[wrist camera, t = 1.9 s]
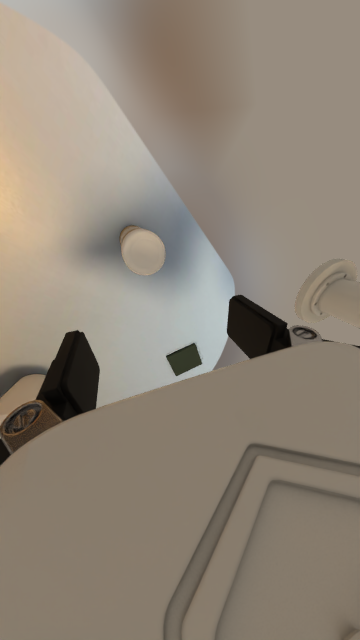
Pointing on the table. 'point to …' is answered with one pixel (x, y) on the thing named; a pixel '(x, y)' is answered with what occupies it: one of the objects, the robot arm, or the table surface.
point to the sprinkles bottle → (142, 250)
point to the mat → (184, 359)
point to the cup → (20, 394)
